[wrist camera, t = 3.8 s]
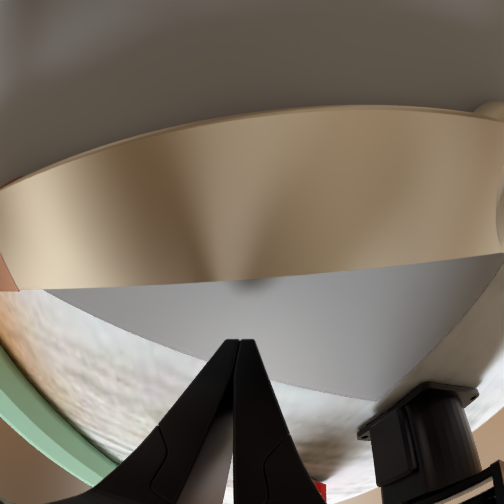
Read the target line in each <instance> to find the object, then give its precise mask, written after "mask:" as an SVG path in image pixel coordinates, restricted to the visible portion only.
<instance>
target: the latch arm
mask: <svg viewBox="0 0 504 504" xmlns="http://www.w3.org/2000/svg"><path fill="white" fill-rule="evenodd" d="M502 252H503V253H504V101H491V102H487V103H485V104H483V105H481V106H480V107H478V108H477V109H476V110H475V111H474V112H473V113H472V112H465V111H457V110H449V109H440V108H429V107H416V106H398V105H330V106H311V107H297V108H286V109H276V110H267V111H259V112H251V113H244V114H237V115H230V116H224V117H218V118H213V119H207V120H202V121H197V122H192V123H187V124H182V125H178V126H173V127H169V128H165V129H161V130H157V131H153V132H149V133H145V134H141V135H137V136H134V137H130V138H127V139H123V140H120V141H117V142H113V143H110V144H107V145H104V146H101V147H98V148H94V149H92V150H89V151H86V152H83V153H80V154H77V155H74V156H72V157H69V158H66V159H64V160H61V161H58V162H56V163H53V164H51V165H48V166H46V167H44V168H41V169H39V170H36V171H34V172H32V173H30V174H27V175H25V176H23V177H22V176H19V177H17V178H15V179H13V180H11V181H9V182H7V183H5V184H3V185H1V186H0V291H20V290H31V289H74V288H103V287H127V286H148V285H167V284H185V283H201V282H217V281H231V280H245V279H259V278H272V277H284V276H296V275H308V274H319V273H330V272H340V271H351V270H361V269H371V268H380V267H390V266H399V265H408V264H417V263H425V262H434V261H442V260H450V259H458V258H466V257H473V256H481V255H488V254H495V253H502Z"/></svg>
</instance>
